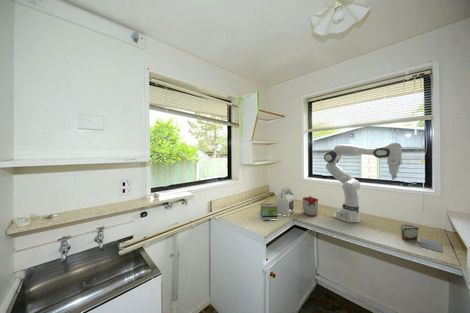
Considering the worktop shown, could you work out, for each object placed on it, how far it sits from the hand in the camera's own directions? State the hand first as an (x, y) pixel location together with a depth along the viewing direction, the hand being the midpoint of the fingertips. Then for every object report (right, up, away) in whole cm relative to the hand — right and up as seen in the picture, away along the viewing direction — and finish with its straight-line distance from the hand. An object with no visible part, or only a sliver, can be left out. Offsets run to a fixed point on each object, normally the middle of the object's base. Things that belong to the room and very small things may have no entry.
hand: (394, 178), depth 141 cm
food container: (-1, -45, -11) cm, 46 cm away
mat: (+7, -44, -21) cm, 49 cm away
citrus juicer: (-52, -44, +39) cm, 79 cm away
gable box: (-76, -44, +48) cm, 100 cm away
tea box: (-98, -45, +31) cm, 113 cm away
